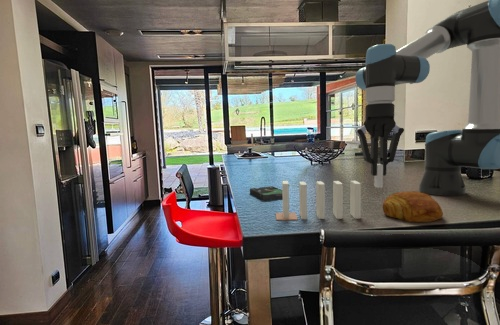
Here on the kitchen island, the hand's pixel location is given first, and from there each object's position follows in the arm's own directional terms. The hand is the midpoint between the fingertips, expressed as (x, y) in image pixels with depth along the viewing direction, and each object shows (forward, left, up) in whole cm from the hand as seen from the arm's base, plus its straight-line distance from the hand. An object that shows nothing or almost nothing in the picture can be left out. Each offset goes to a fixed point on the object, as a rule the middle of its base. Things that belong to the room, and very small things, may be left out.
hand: (378, 186), depth 89 cm
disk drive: (+32, -30, -9) cm, 44 cm away
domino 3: (+16, 0, -9) cm, 18 cm away
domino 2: (+21, 0, -9) cm, 23 cm away
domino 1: (+26, 0, -8) cm, 28 cm away
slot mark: (+26, 0, -9) cm, 28 cm away
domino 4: (+11, 0, -9) cm, 14 cm away
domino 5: (+6, 0, -9) cm, 11 cm away
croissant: (-10, 0, -9) cm, 13 cm away
